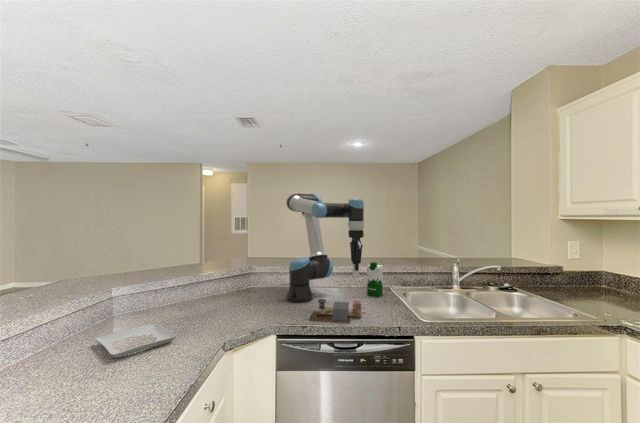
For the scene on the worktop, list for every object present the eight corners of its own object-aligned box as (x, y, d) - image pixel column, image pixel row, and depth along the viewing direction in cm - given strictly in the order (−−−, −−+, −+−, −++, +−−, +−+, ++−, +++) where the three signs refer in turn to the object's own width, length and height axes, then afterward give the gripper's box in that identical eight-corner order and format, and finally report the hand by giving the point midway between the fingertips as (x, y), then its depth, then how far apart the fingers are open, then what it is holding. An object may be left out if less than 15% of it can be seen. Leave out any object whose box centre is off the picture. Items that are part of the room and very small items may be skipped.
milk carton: (365, 295, 176) (365, 262, 176) (371, 292, 184) (371, 260, 184) (379, 297, 171) (379, 263, 172) (384, 294, 179) (384, 261, 179)
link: (315, 314, 139) (315, 301, 139) (317, 310, 144) (317, 298, 144) (361, 317, 135) (361, 304, 136) (361, 313, 141) (361, 300, 141)
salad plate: (155, 329, 124) (155, 321, 124) (177, 343, 110) (178, 334, 110) (93, 346, 107) (93, 337, 107) (111, 365, 94) (112, 355, 94)
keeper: (308, 320, 133) (308, 304, 133) (313, 312, 146) (313, 297, 146) (350, 323, 131) (350, 306, 131) (351, 313, 143) (351, 298, 143)
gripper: (345, 229, 151) (344, 274, 150) (352, 230, 138) (352, 279, 138) (358, 228, 152) (358, 273, 152) (367, 230, 140) (367, 279, 139)
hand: (355, 276), depth 145 cm, fingers closed
